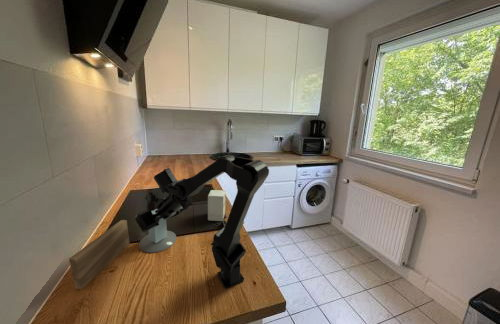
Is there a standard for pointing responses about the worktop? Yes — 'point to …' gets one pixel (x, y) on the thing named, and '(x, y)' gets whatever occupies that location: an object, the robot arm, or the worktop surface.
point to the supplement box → (216, 205)
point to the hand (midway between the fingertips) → (154, 221)
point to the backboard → (98, 254)
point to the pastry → (226, 221)
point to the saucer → (160, 246)
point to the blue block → (158, 230)
